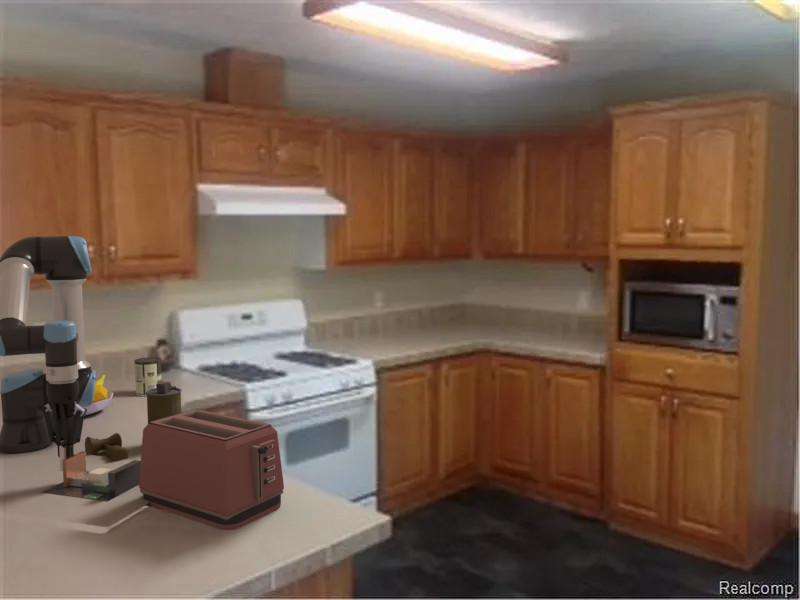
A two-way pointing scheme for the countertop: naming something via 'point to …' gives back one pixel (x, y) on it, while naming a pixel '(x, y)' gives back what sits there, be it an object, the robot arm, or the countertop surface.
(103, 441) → the kendama
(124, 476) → the grey slider puzzle board
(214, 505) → the toaster
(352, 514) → the countertop surface
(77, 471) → the two-tone wooden block
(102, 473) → the cream cube block
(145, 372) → the coffee can
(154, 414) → the canister
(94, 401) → the fruit bowl
